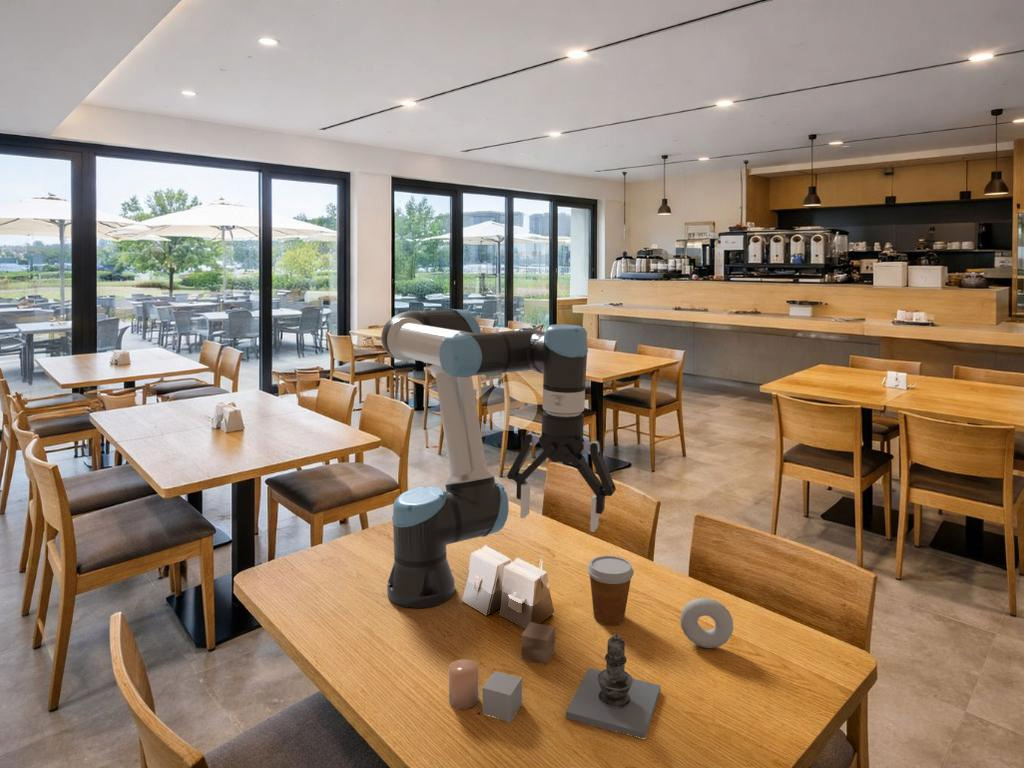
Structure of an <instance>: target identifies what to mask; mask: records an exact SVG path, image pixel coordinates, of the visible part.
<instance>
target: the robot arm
mask: <svg viewBox="0 0 1024 768" xmlns="http://www.w3.org/2000/svg"><path fill="white" fill-rule="evenodd" d="M380 338H381V344H382V347H383V348H384V351H385V352H386V353H387V355H389V356H390V357H392V358H393V359H394V360H395V359H396V360H398V361H403V362H413V361H415V362H416V361H417V362H419V361H420V362H423V363H426V366H427V367H426V368H427V370H429V372H431V373H432V374H434V376H435V383H436V390H437V396H438V403H439V408H440V409H439V410H440V416H441V423H442V428H443V429H442V430H443V435H444V443H445V448H446V455H447V462H448V467H449V474H450V475H449V477H448V479H447V480H446V481H445V482H444V485H445V486H444V487H445V490H444V488H441V487H439V486H436V485H435V486H434V485H430V486H425V485H423V486H419V487H413V488H410V489H408V490H406V491H404V492H403V493H401V494H400V495H398V496H397V497H396V499H395V500H394V501H393V502H394V503H393V507H392V509H393V510H392V518H391V520H392V526H393V528H392V530H393V557H394V562H393V565H392V567H391V571H390V575H389V576H388V581H387V585H386V587H387V590H386V591H387V592H386V593H387V594H388V595H387V594H386V595H387V597H388V600H389V601H390V602H392V603H393V604H395V605H397V606H401V607H403V606H404V607H405V608H408V607H412V608H411V609H422V608H421V607H426V608H431V607H430V606H432V607H435V606H438V604H439V605H441V604H444V603H445V602H448V600H450V599H451V598H452V597H453V595H454V594H455V591H456V589H455V586H456V585H455V583H456V582H455V578H454V576H453V573H452V569H451V567H450V564H449V561H448V559H447V545H450V544H455V543H459V542H462V541H463V542H464V541H468V540H471V539H472V540H473V539H475V538H480V537H482V538H483V537H487V536H489V535H492V534H495V533H496V534H497V533H498V532H500V531H501V530H502V529H504V526H505V525H506V523H507V520H508V518H509V512H510V510H509V503H510V502H509V496H508V493H507V491H506V490H505V487H504V485H503V484H502V483H501V482H498V481H496V480H495V474H493V472H491V471H489V470H488V469H487V463H486V459H485V457H486V456H485V452H484V451H485V450H484V445H483V439H482V432H481V431H482V430H481V426H480V419H479V414H478V413H479V412H478V408H477V407H478V406H477V402H476V401H477V400H476V396H475V395H476V394H475V393H476V392H475V389H474V382H473V377H474V376H483V375H494V374H504V373H517V372H525V371H527V372H529V371H532V372H537V373H540V374H542V377H543V382H542V410H543V412H542V414H541V434H536V433H535V431H529V432H528V433H527V434H526V435H524V438H523V439H524V440H523V445H522V447H521V448H520V449H521V450H520V451H519V452H518V454H517V456H516V458H515V460H514V462H513V463H512V465H511V467H510V469H509V471H508V472H507V475H506V477H507V479H509V480H513V482H515V483H516V494H515V495H516V499H517V500H520V512H519V513H520V515H519V516H520V519H525V518H526V517H528V516H529V514H530V506H531V504H530V502H531V501H530V500H531V499H530V498H531V480H527V479H528V478H529V477H530V476H531V475H532V474H533V473H534V472H535V471H536V470H537V469H538V468H539V467H540V466H542V464H543V463H544V462H545V461H546V460H547V459H548V460H550V461H551V462H555V463H557V462H560V463H562V464H567V465H568V464H570V463H571V464H572V466H573V467H574V468H575V469H577V471H578V472H579V474H580V475H581V477H582V478H583V479H584V481H585V482H586V483H587V486H588V487H589V488H590V489H591V490H592V492H593V493H594V494H593V495H592V496H591V501H590V503H591V504H590V524H589V532H593V533H595V532H596V530H597V529H598V527H599V518H600V517H599V516H600V515H602V514H603V512H604V510H605V504H606V497H611V496H612V495H614V494H615V492H616V490H617V487H616V485H615V483H614V481H613V478H612V474H611V473H610V471H609V469H608V466H607V464H606V461H605V459H604V456H603V454H602V451H601V447H602V446H601V442H600V440H597V439H596V440H594V441H585V439H584V426H585V425H584V420H585V415H584V413H583V412H584V411H585V407H586V406H585V403H586V402H585V401H586V400H585V399H586V382H587V381H586V379H587V362H588V361H587V360H588V352H589V349H588V332H587V329H586V328H585V327H583V326H581V325H577V324H576V325H575V324H565V323H564V324H560V323H559V324H557V323H556V324H550V325H548V326H547V327H545V329H544V331H542V330H539V329H535V328H533V327H532V328H531V327H528V328H526V327H519V328H516V329H514V330H512V331H497V332H496V331H495V332H482V330H481V327H480V324H479V321H478V320H477V319H476V317H475V316H474V315H473V314H472V313H471V312H470V311H468V310H467V309H466V310H465V309H456V308H455V309H454V308H449V309H430V310H429V309H428V310H408V311H404V312H400V313H398V314H396V315H394V316H392V317H391V318H390V319H389V320H387V321H386V323H385V324H384V326H383V328H382V332H381V336H380ZM537 443H538V444H539V445H540V447H541V449H542V450H543V451H542V452H541V453H540V454H539V455H538V456H537V458H536V459H535V460H534V461H532V462H531V464H530V465H529V466H528V467H526V469H524V471H523V472H522V473H520V470H521V469H522V466H524V463H525V462H526V460H527V459H528V456H529V454H530V452H531V451H532V450H533V448H534V447H535V446H536V445H537ZM584 449H585V450H586V451H587V454H589V455H590V458H591V462H592V463H593V466H594V468H595V471H596V473H597V475H598V476H597V475H596V474H595V472H594V471H593V469H592V468H591V466H590V465H589V464H588V463H587V461H586V458H585V456H584V455H583V453H582V452H583V450H584Z"/></svg>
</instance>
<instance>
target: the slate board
mask: <svg viewBox="0 0 1024 768" xmlns="http://www.w3.org/2000/svg"><path fill="white" fill-rule="evenodd" d="M601 671H602V670H600V669H595V668H591V667H588V668H587V670H586V672H585V673H584V676H583V678H582V680H581V681H580V684H579V685H578V687H577V690H576V691H575V693H574V695H573V697H572V700H571V701H570V703H569V705H568V707H567V708H566V711H565V719H569V720H571V721H574V722H577V723H578V722H579V723H581V724H582V723H583V724H586V725H590V726H592V727H597V728H599V729H600V728H601V729H603V728H604V729H603V730H607V729H608V730H607V731H610V730H613V731H612V732H614V731H617V732H616V733H618V732H620V733H619V734H621V733H624V734H623V735H625V734H629V735H632V736H635V737H634V738H636V736H637V737H640V738H645V737H647V735H648V732H647V730H648V731H649V729H648V727H649V728H650V726H649V724H650V725H651V722H652V719H653V716H652V715H654V713H653V712H654V711H655V710H656V707H655V706H657V704H658V700H659V696H660V694H661V685H660V684H657V683H654V682H653V683H652V682H649V681H644V680H641V679H637V678H633V677H632V680H633V683H632V685H631V687H630V689H629V691H628V695H629V696H630V702H629V704H628V705H627V706H625V707H623V708H611V707H608V706H606V705H604V704H602V703H601V702H600V700H599V693H600V692H601V691H602V690H601V687H600V685H599V682H598V679H597V677H598V674H599V673H600V672H601ZM654 709H655V710H654ZM651 718H652V719H651ZM650 721H651V722H650ZM646 734H647V735H646ZM632 736H631V737H632ZM645 739H646V738H645Z"/></svg>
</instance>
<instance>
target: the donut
mask: <svg viewBox="0 0 1024 768" xmlns="http://www.w3.org/2000/svg"><path fill="white" fill-rule="evenodd" d="M730 612H731V611H729V610H728V609H727V607H726V606H725V605H724V604H722V603H721V602H720V601H717V600H716V599H713V598H709V597H697V598H693V599H692V600H690V601H688V603H686V604H685V605H684V607H683V608H682V610H681V612H680V617H679V620H680V627H681V629H682V631H683V634H684V635H685V636H686V638H687V639H688V640H689V641H690V642H692V643H693V644H695V645H697V646H699V647H701V648H704V649H706V648H707V649H714V648H717V647H722V646H723V645H725V644H726V643H727V642H728V641H729V640H730V639H731V637H732V636H733V632H734V631H733V630H734V628H735V627H734V619H733V617H732V615H731V613H730ZM703 616H705V617H706V616H707V617H709V618H711V619H712V620H713V621H714V623H715V625H714V627H713V628H711V629H704V628H703V627H701V625H699V619H700V618H702V617H703Z"/></svg>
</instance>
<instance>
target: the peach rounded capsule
mask: <svg viewBox="0 0 1024 768" xmlns="http://www.w3.org/2000/svg"><path fill="white" fill-rule="evenodd" d="M447 671H448V702H449V705H450V706H451V708H454V709H456V708H457V709H456V710H461V709H464V710H469V709H468V708H470V709H472V708H474V707H475V706H476V705H477V704H478V703H479V665H478V663H476V661H473V660H471V659H465V658H463V659H457V660H455V661H453V662H451V663H450V664H449V666H448V670H447ZM471 707H472V708H471Z"/></svg>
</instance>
